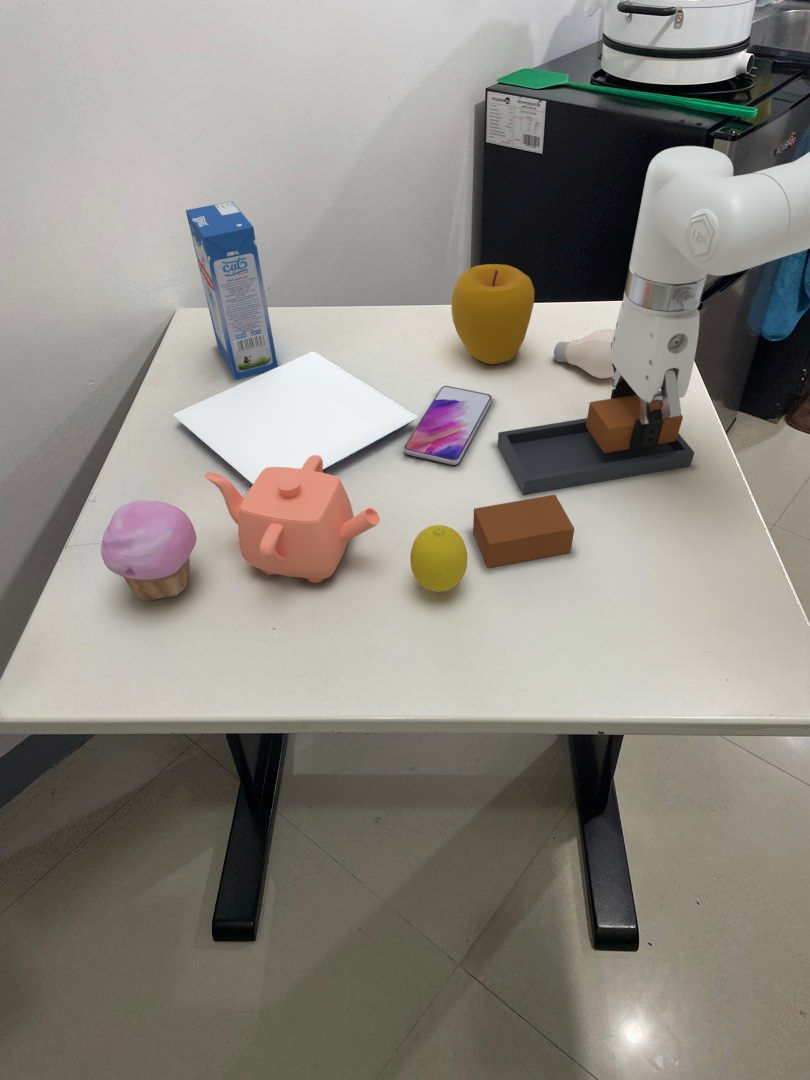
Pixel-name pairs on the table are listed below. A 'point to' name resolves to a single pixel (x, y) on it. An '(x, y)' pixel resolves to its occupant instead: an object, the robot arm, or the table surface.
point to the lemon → (438, 558)
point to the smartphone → (448, 425)
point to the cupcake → (150, 548)
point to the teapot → (294, 520)
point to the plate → (294, 417)
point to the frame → (579, 457)
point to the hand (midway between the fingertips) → (631, 430)
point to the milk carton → (233, 287)
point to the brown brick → (522, 530)
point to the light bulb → (589, 353)
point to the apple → (492, 311)
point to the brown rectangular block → (623, 422)
